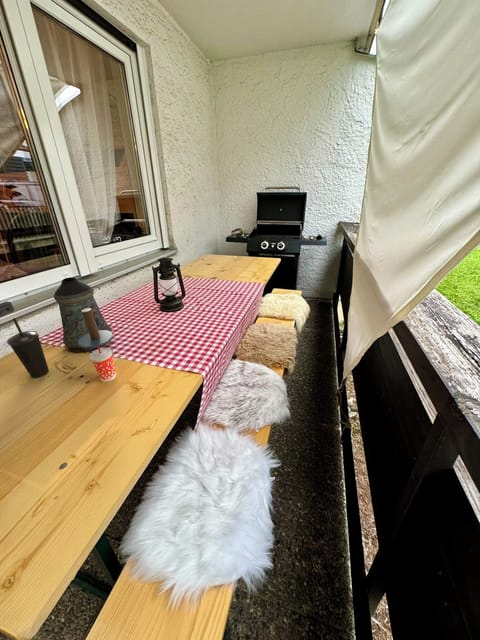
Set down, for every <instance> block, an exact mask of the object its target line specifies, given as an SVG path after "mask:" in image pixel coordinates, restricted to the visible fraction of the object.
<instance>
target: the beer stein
mask: <svg viewBox="0 0 480 640" xmlns="http://www.w3.org/2000/svg"><path fill="white" fill-rule="evenodd" d="M94 294H95V289H94V287H92V286H91V285H88V284H86V283H85V282H82V281H79V280H78V279H77V278H76V277H72V276H71V277H65V278H63V279H62V280H61V282H60V285H59V287H58V288H57V289H56V290H55V292H54V294H53V299H54V300H55V302H56V303H57V304H58V309H59V314H60V318H61V326H62V342H63V345H65V347H66V349H67V351H70V352H71V353H74V354H82V353H83V354H85V353H89V352H94V351H96V349H97V350H98V347H96V348H82V347H80V346H79V344H78V340H79V339H80V338H81V337H82V336H84V335H86V334H88V333H89V332H88V329H87V326H86V323H85V320H84V317H83V314H82V310H83V309H86V308H91V309H92V313H93V316H94V319H95V322H96V325H97V328H98V331H100V330H106V331H110V332H111V333H112V334H113V332H112V331H113V329H112V327H111V326H110V325H109V324H108V323H107V321H106V319H105V318H104V316H103V314H102V311H101V310H100V307H99V306H98V303H97V301H96V299H95V297H94ZM106 344H107V343H106ZM106 344H104V345H102V346H99V347H100V349H102V348H104V347H106V346H107V345H108V344H107V345H106ZM105 345H106V346H105Z"/></svg>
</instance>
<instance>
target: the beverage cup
mask: <svg viewBox="0 0 480 640" xmlns="http://www.w3.org/2000/svg"><path fill="white" fill-rule="evenodd" d="M88 357H89V359H90V361H91V362H92V364H93V367H94V368H95V371H96V373H97V375H98V379H99V380H100V382H102V383H108V382H111V381H113V380H115V379H116V377H117V372H116V367H115V364H114V363H115V362H114V359H113V350H112V349H111V348H109V347H108V348H107V347H101V348H100V347H98V349H97V350H94V351H91V353H90V354H89V356H88Z"/></svg>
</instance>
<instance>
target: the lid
mask: <svg viewBox="0 0 480 640" xmlns="http://www.w3.org/2000/svg"><path fill="white" fill-rule="evenodd" d="M82 314H83V317H84V320H85V323H86V326H87V329H88V332H89V333H88V334H86V335H84V336H82V337H81V338H80V339H79V340H78V344H79V346H80V347H82V348H96V347H99V346H102V345H104V344H106V343H108V342H109V341H110V342H111V341H112V340H113V337H114V334H113V332H112V333H111V332H110V331H106V330H100V331H98V328H97V325H96V322H95V319H94V316H93V313H92V309H91V308H86V309H83V310H82ZM110 342H109V343H110ZM109 343H108V344H109Z"/></svg>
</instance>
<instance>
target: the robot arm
mask: <svg viewBox="0 0 480 640" xmlns="http://www.w3.org/2000/svg"><path fill="white" fill-rule="evenodd" d="M14 311H15V307H14V305H13V303H12V302H11V301H4V302H1V303H0V318H1V317H3V316H6V315H8V314H11V313H14Z"/></svg>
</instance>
